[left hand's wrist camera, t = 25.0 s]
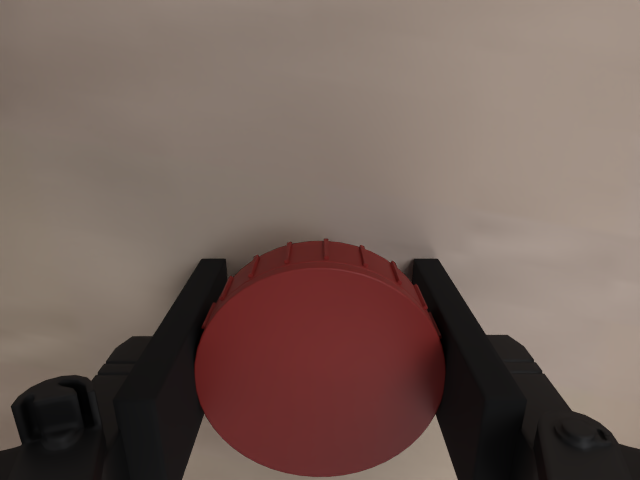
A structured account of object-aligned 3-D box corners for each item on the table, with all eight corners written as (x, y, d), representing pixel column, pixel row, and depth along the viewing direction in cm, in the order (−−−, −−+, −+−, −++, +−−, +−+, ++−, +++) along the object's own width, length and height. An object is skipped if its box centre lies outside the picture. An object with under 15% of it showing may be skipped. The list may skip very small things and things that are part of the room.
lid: (479, 313, 12) (504, 350, 10) (350, 462, 14) (353, 512, 12) (282, 191, 11) (276, 212, 9) (169, 371, 13) (147, 414, 11)
